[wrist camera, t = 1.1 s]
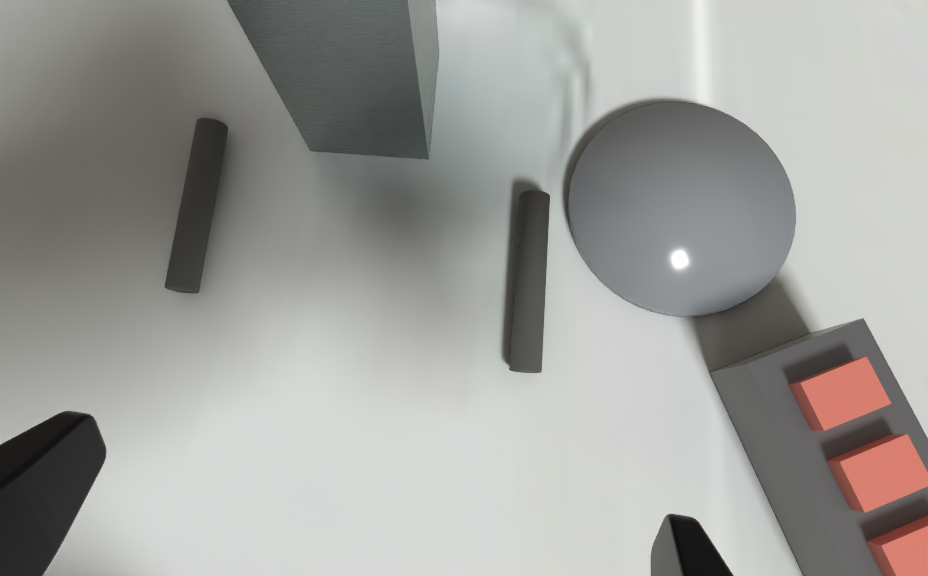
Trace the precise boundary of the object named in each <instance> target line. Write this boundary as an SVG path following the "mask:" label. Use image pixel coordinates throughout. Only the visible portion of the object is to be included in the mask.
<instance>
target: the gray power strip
mask: <svg viewBox="0 0 928 576" xmlns="http://www.w3.org/2000/svg"><path fill="white" fill-rule="evenodd" d="M710 375H711V377H712V380H713V382H714V384H715V386H716V388H717V390H718V392H719V395H720V397H721V399H722V401H723V403H724V405H725V407H726V410H727V412H728V414H729V416H730V418H731V420H732V422H733V425H734V427H735V429H736V431H737V433H738V435H739V438H740V440H741V442H742V444H743V446H744V448H745V450H746V453H747V455H748V457H749V459H750V461H751V463H752V465H753V468H754V470H755V472H756V474H757V476H758V478H759V481H760V483H761V485H762V487H763V489H764V491H765V493H766V496H767V498H768V500H769V502H770V504H771V506H772V508H773V511H774V513H775V515H776V517H777V519H778V521H779V524H780V526H781V528H782V530H783V532H784V534H785V536H786V539H787V541H788V543H789V545H790V547H791V549H792V551H793V554H794V556H795V558H796V560H797V562H798V564H799V567H800V569H801V571H802V573H803V575H804V576H928V438H927V436H926V435H925V433H924V431H923V429H922V427H921V425H920V423H919V421H918V420H917V418H916V416H915V414H914V412H913V410H912V408H911V406H910V405H909V403H908V401H907V399H906V397H905V395H904V393H903V391H902V390H901V388H900V386H899V384H898V382H897V380H896V378H895V376H894V375H893V373H892V371H891V369H890V367H889V365H888V363H887V361H886V360H885V358H884V356H883V354H882V352H881V350H880V348H879V346H878V345H877V343H876V341H875V339H874V337H873V335H872V333H871V331H870V330H869V328H868V326H867V324H866V322H865V320H864V318H863V319H859V320H856V321H852V322H848V323H845V324H841V325H838V326H834V327H831V328H827V329H823V330H820V331H816V332H813V333H810V334H807V335H805V336H802V337H800V338H797V339H794V340H792V341H789V342H787V343H784V344H782V345H779V346H777V347H774V348H771V349H769V350H766V351H764V352H761V353H759V354H756V355H754V356H751V357H748V358H746V359H743V360H741V361H738V362H736V363H733V364H731V365H728V366H725V367H723V368H720V369H718V370H715V371H713V372H710Z"/></svg>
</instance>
